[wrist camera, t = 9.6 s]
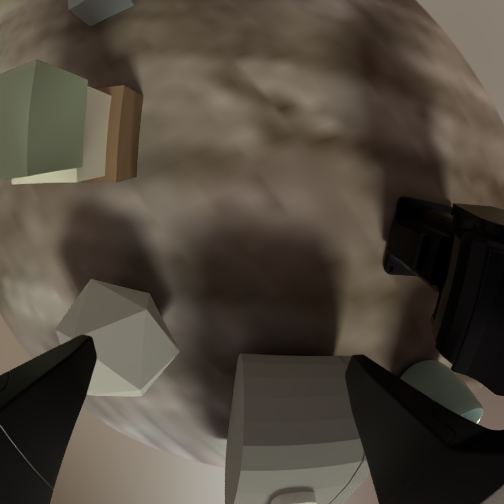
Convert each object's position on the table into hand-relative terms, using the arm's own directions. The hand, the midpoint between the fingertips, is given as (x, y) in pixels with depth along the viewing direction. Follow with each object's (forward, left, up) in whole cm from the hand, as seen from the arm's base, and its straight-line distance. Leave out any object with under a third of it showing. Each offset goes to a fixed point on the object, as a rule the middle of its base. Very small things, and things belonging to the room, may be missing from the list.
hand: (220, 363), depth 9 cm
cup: (-22, +14, -13) cm, 29 cm away
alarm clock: (-6, +17, -13) cm, 22 cm away
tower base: (+10, -8, -13) cm, 18 cm away
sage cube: (+10, -8, -6) cm, 14 cm away
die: (+8, +7, -13) cm, 17 cm away
